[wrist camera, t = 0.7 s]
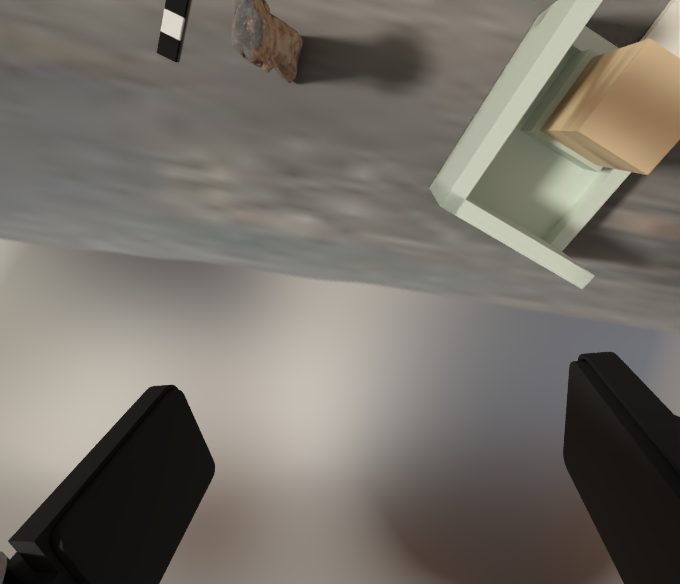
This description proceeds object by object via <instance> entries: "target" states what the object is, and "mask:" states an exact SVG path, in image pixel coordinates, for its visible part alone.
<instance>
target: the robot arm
mask: <svg viewBox="0 0 680 584" xmlns="http://www.w3.org/2000/svg"><path fill="white" fill-rule="evenodd" d="M563 456H564V461H565V465H566V468H567V470H568V472H569V474H570V476H571V478H572V480H573V482H574V484H575V486H576V488H577V490H578V492H579V494H580V496H581V498H582V500H583V502H584V504H585V506H586V508H587V510H588V512H589V514H590V516H591V518H592V520H593V522H594V524H595V526H596V528H597V530H598V532H599V534H600V536H601V538H602V540H603V542H604V544H605V546H606V548H607V550H608V552H609V554H610V556H611V558H612V560H613V562H614V564H615V566H616V568H617V570H618V572H619V575H620V576H621V578H622V581H623V582H624V584H680V417H678V416H676V415H674V414H673V413H672V412H671V411H670V410H669V409H668V408H667V407H666V406H665V405H664V404H663V403H662V402H661V401H660V400H659V398H658V397H657V396H656V395H655V394H653V392H652V391H651V390H650V389H649V388H648V387H647V386H646V385H645V384H644V383H643V382H642V381H641V380H640V379H639V378H638V377H637V375H635V373H633V371H632V370H631V369H630V368H629V367H628V366H627V365H626V364H625V363H624V362H623V361H622V360H621V359H620V358H619V357H618V356H617V355H616V354H615V353H613V352H600V353H589V354H588V353H587V354H581V355H580V356H579V358H578V361H573V362H571V364H570V367H569V380H568V394H567V407H566V421H565V435H564V448H563ZM214 472H215V463H214V461H213V458H212V456H211V454H210V451H209V449H208V447H207V445H206V443H205V440H204V438H203V436H202V434H201V431H200V429H199V427H198V425H197V423H196V420H195V418H194V416H193V413H192V411H191V409H190V407H189V405H188V403H187V400H186V398H185V396H184V394H183V392H182V391H181V390H178V388H177V387H176V386H174V385H163V386H153V387H150V388H148V389H147V390H146V391H145V392H144V393H143V395H142V396H141V397H140V398H139V399H138V400H137V401H136V402H135V403H134V404H133V405H132V406H131V408H130V409H129V410H128V411H127V412H126V413H125V414H124V415H123V416H122V417H121V418H120V420H119V421H118V422H117V423H116V424H115V425H114V426H113V427H112V428H111V430H110V431H109V432H108V433H107V434H106V435H105V436H104V437H103V438H102V439H101V440H100V441H99V442H98V444H97V445H96V446H95V447H94V448H93V449H92V450H91V451H90V452H89V453H88V455H87V456H86V457H85V458H84V459H83V460H82V461H81V462H80V463H79V464H78V465H77V466H76V468H75V469H74V470H73V471H72V472H71V473H70V474H69V475H68V476H67V477H66V479H65V480H64V481H63V482H62V483H61V484H60V485H59V486H58V487H57V488H56V489H55V490H54V492H53V493H52V494H51V495H50V496H49V497H48V498H47V499H46V500H45V501H44V502H43V503H42V505H41V506H40V507H39V508H38V509H37V510H36V511H35V512H34V513H33V514H32V515H31V517H30V518H29V519H28V520H27V521H26V522H25V523H24V524H23V525H22V526H21V528H20V529H19V530H18V531H17V532H16V533H15V534H14V535H13V536H12V537H11V538H10V540H9V541H8V542H9V543H10V544H11V545H12V546H13V548H14V549H15V550H16V551H17V552H16V553H15V555H14V556H13V557H12V558H11V559H10V560H9V559H8V557H7V556H6V555H5V554H4V553H3V552H0V584H159V583H160V581H161V579H162V577H163V575H164V573H165V571H166V569H167V567H168V565H169V563H170V561H171V559H172V557H173V555H174V553H175V551H176V549H177V547H178V545H179V543H180V541H181V540H182V538H183V536H184V533H185V532H186V529H187V528H188V526H189V524H190V522H191V520H192V518H193V516H194V513H195V512H196V510H197V508H198V506H199V504H200V502H201V499H202V498H203V496H204V494H205V492H206V490H207V488H208V486H209V484H210V482H211V480H212V478H213V476H214Z"/></svg>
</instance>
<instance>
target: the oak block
mask: <svg viewBox="0 0 680 584" xmlns="http://www.w3.org/2000/svg"><path fill="white" fill-rule="evenodd" d="M540 131H542V132H544V133H545V134H547V135H548V136H550V137H552V138H553V139H555V140H556V141H558V142H560V143H561V144H563V145H564V146H566V147H568V148H569V149H571V150H572V151H574V152H576V153H577V154H579V155H580V156H582V157H584V158H585V159H587V160H588V161H590V162H592V163H593V164H595V165H597V166H603V167H608V168H613V169H618V170H623V171H628V172H634V173H639V174H644V175H648V174H649V173H650V172H651V171H652V170H653V169H654V168H655V167H656V165H657V164H658V163H659V162H660V161H661V160H662V159H663V158H664V156H665V155H666V154H667V153H668V152H669V151H670V150H671V149H672V148H673V146H674V145H675V144H676V143H677V142H678V141H679V140H680V58H678V57H677V56H675V55H674V54H672V53H671V52H669V51H668V50H666V49H665V48H664V47H662V46H661V45H659V44H658V43H656V42H655V41H653V40H652V39H650V38H649V39H646V40H643V41H640V42H637V43H634V44H631V45H628V46H625V47H622V48H619V49H616V50H613V51H610V52H607V53H604V54H601V55H599V56H596V57H593V58H592V59H591V60H590V61H589V63H588V64H587V66H586V67H585V68H584V70H583V71H582V72H581V74H580V75H579V77H578V78H577V79H576V81H575V82H574V84H573V85H572V86H571V88H570V89H569V91H568V92H567V93H566V95H565V96H564V97H563V99H562V100H561V102H560V103H559V104H558V106H557V107H556V109H555V110H554V111H553V113H552V114H551V115H550V117H549V118H548V120H547V121H546V122H545V124H544V125H543V127H542V128H541V129H540Z"/></svg>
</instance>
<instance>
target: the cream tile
mask: <svg viewBox="0 0 680 584" xmlns="http://www.w3.org/2000/svg"><path fill="white" fill-rule="evenodd" d="M649 38H650V39H652V40H653V41H655V42H656V43H658V44H659V45H661V46H662V47H664V48H665V49H666V50H668V51H669V52H671V53H672V54H674V55H675V56H677V57H678V58H680V0H671V1H670V2H669V3H668V5H667V6H666V7H665V9H664V10H663V11H662V13H661V14H660V15H659V17H658V18H657V19H656V21H655V22H654V23H653V25H652V26H651V27H650V28H649V30H648V31H647V32H646V34H645V35H644V36H643V38H642V39H641V40H640V41H643V40H646V39H649Z"/></svg>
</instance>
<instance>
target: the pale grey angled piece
mask: <svg viewBox="0 0 680 584" xmlns="http://www.w3.org/2000/svg"><path fill="white" fill-rule="evenodd" d="M601 2H602V0H558V1H556V2H555V3H554V4H552V5H551V6H550V7H548V8H547V9H546V10H544V11H543V12H542V13H540V14H539V15H538V17H537V19H536V20H535V22H534V23H533V25H532V26H531V28H530V30H529V31H528V33H527V34H526V36H525V38H524V39H523V41H522V42H521V44H520V45H519V47H518V49H517V50H516V52H515V53H514V55H513V57H512V58H511V60H510V61H509V63H508V64H507V66H506V68H505V69H504V71H503V72H502V74H501V75H500V77H499V79H498V80H497V82H496V83H495V85H494V87H493V88H492V90H491V91H490V93H489V94H488V96H487V98H486V99H485V101H484V102H483V104H482V106H481V107H480V109H479V110H478V112H477V113H476V115H475V117H474V118H473V120H472V121H471V123H470V124H469V126H468V128H467V129H466V131H465V132H464V134H463V136H462V137H461V139H460V140H459V142H458V143H457V145H456V147H455V148H454V150H453V151H452V153H451V154H450V156H449V158H448V159H447V161H446V162H445V164H444V166H443V167H442V169H441V170H440V172H439V173H438V175H437V177H436V178H435V180H434V181H433V183H432V185H431V186H430V188H429V189H430V191H431V192H432V194H433V196H434V197H435V199H436V201H437V202H438V204H439V206H440V207H442V208H444V209H446V210H447V211H449V212H451V213H452V214H454V215H456V216H458V217H459V218H461V219H463V220H464V221H466V222H468V223H470V224H471V225H473V226H475V227H476V228H478V229H480V230H482V231H483V232H485V233H487V234H488V235H490V236H492V237H494V238H495V239H497V240H499V241H500V242H502V243H504V244H506V245H507V246H509V247H511V248H512V249H514V250H516V251H518V252H519V253H521V254H523V255H524V256H526V257H528V258H530V259H531V260H533V261H535V262H536V263H538V264H540V265H542V266H543V267H545V268H547V269H548V270H550V271H552V272H554V273H555V274H557V275H559V276H560V277H562V278H564V279H566V280H567V281H569V282H571V283H572V284H574V285H576V286H578V287H579V288H581V289H583V288H584V287H585V286H586V285H587V284H588V283H589V282H590V281H591V279H592V278H593V277H594V275H593V274H592V273H590V272H589V271H588V270H586V269H585V268H584V267H582V266H581V265H580V264H578V263H577V262H575V261H574V260H573V259H571V258H570V257H569V256H567V255H566V254H565V253H563V252H562V251H563V250H564V249H565V248H566V246H567V245H568V244H569V243H570V242H571V241H572V240H573V238H574V237H575V236H576V235H577V234H578V233H579V232H580V230H581V229H582V228H583V227H584V226H585V225H586V224H587V222H588V221H589V220H590V219H591V218H592V217H593V216H594V214H595V213H596V212H597V211H598V210H599V209H600V208H601V206H602V205H603V204H604V203H605V202H606V201H607V200H608V198H609V197H610V196H611V195H612V194H613V193H614V191H615V190H616V189H617V188H618V187H619V186H620V185H621V183H622V182H623V181H624V180H625V179H626V178H627V177H628V175H629V174H630V173H631V172H628V171H623V170H618V169H613V168H608V167H603V166H597V165H595V164H593V163H592V162H590V161H588V160H587V159H585V158H584V157H582V156H580V155H579V154H577V153H576V152H574V151H572V150H571V149H569V148H568V147H566V146H564V145H563V144H561V143H560V142H558V141H556V140H555V139H553V138H552V137H550V136H548V135H547V134H545V133H544V132H542V131H540V129H541V128H542V127H543V125H544V124H545V122H546V121H547V120H548V118H549V117H550V115H551V114H552V113H553V111H554V110H555V109H556V107H557V106H558V104H559V103H560V102H561V100H562V99H563V97H564V96H565V95H566V93H567V92H568V91H569V89H570V88H571V86H572V85H573V84H574V82H575V81H576V79H577V78H578V77H579V75H580V74H581V72H582V71H583V70H584V68H585V67H586V66H587V64H588V63H589V61H590V60H591V59H592V58H593V57H596V56H599V55H601V54H604V53H607V52H610V51H613V50H616V49H619V48H618V47H616V46H615V45H613V44H612V43H610V42H609V41H607V40H606V39H604V38H603V37H601V36H600V35H598V34H597V33H595V32H594V31H592V30H591V29H589V28H588V27H586V26H585V25H586V24H587V22H588V21H589V19H590V18H591V16H592V15H593V13H594V12H595V10H596V9H597V8H598V6H599V5H600V3H601Z"/></svg>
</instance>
